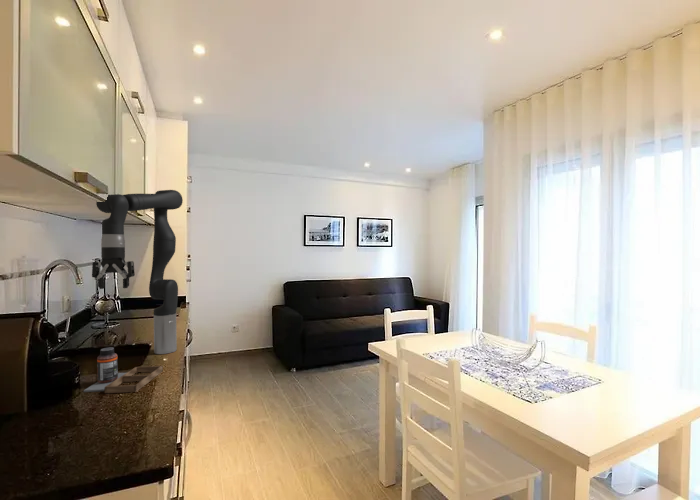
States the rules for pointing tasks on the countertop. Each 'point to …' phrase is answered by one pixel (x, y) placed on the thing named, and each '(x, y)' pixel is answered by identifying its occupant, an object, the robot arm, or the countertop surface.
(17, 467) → the countertop surface
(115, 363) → the supplement bottle
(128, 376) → the two bay tray
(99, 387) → the slate mat
